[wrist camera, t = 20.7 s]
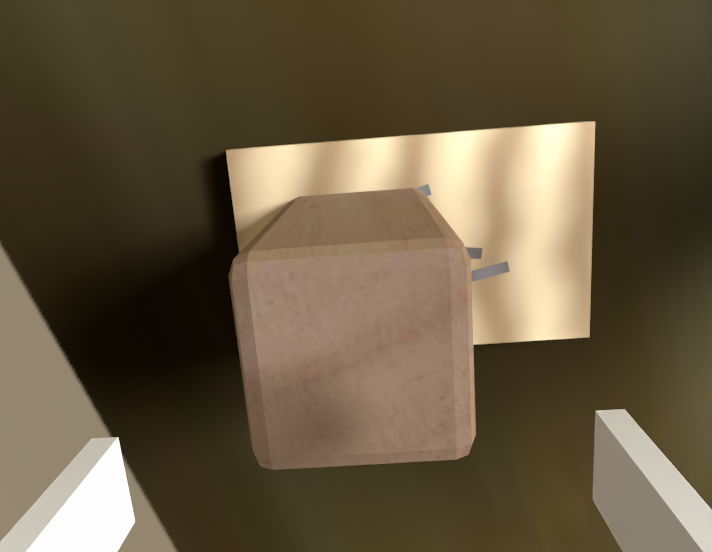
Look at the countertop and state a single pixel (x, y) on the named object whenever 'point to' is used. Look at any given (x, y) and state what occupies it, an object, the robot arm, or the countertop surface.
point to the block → (356, 333)
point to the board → (463, 210)
